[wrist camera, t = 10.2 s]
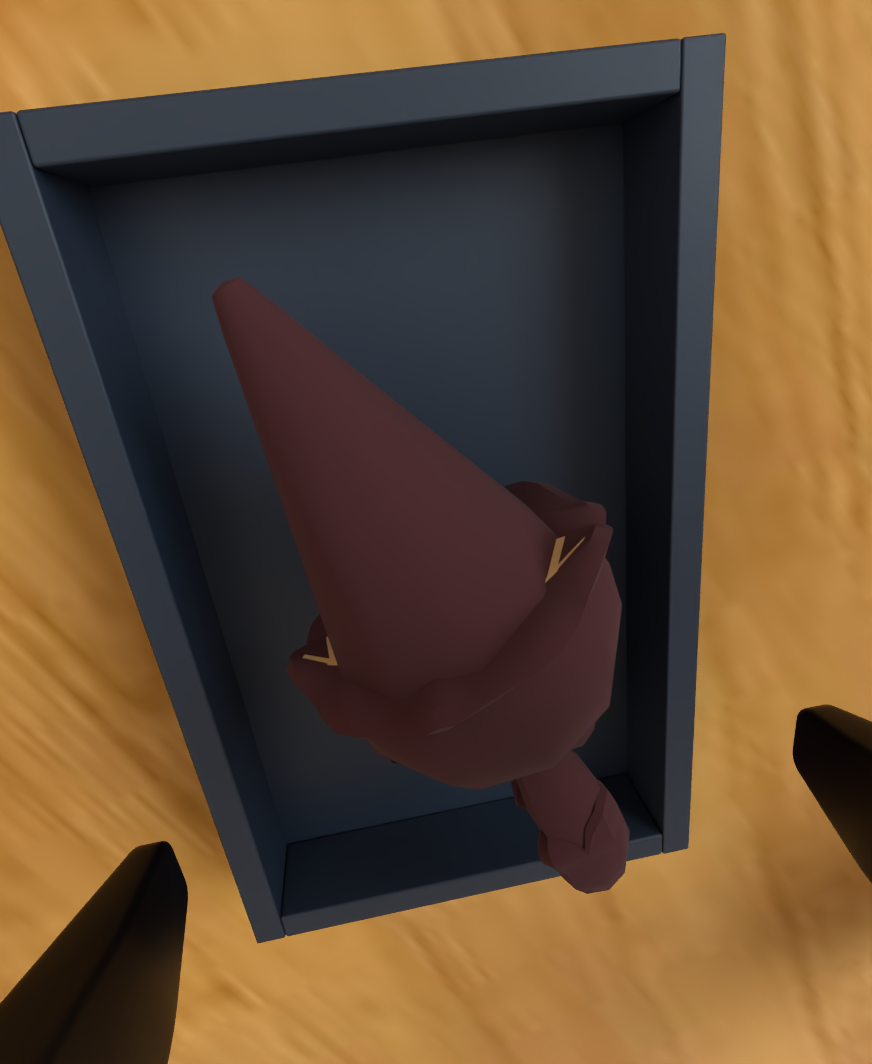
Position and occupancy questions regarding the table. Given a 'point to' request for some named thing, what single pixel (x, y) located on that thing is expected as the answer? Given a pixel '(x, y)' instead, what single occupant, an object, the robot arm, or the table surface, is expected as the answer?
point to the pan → (411, 380)
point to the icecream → (438, 592)
